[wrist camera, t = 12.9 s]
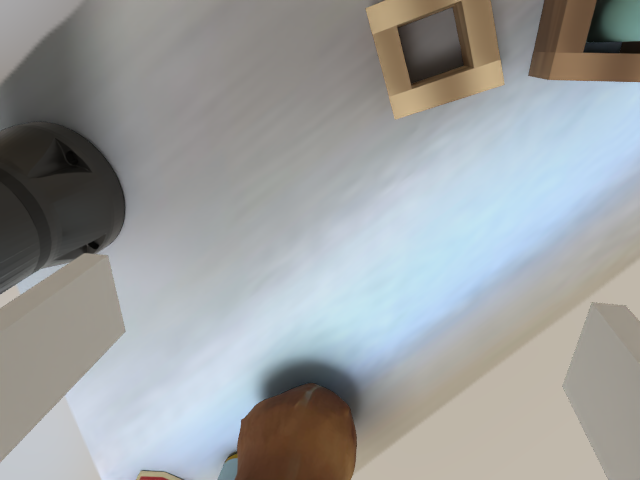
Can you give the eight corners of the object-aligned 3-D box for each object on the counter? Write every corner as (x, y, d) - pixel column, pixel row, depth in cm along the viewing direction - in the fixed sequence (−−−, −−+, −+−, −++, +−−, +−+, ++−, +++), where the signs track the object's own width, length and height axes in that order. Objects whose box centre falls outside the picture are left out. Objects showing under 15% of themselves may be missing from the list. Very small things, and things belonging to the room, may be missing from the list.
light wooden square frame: (395, 110, 36) (394, 119, 32) (369, 13, 33) (365, 8, 29) (490, 79, 34) (504, 84, 29) (471, -27, 31) (484, -40, 27)
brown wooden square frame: (528, 75, 33) (548, 79, 29) (553, -43, 30) (581, -59, 25) (636, 78, 32) (675, 82, 28) (675, -44, 29) (727, -61, 24)
